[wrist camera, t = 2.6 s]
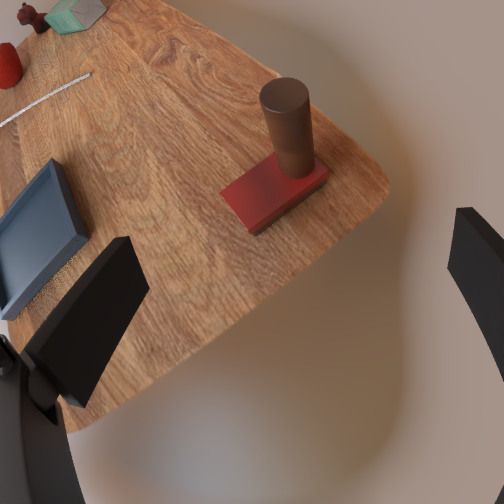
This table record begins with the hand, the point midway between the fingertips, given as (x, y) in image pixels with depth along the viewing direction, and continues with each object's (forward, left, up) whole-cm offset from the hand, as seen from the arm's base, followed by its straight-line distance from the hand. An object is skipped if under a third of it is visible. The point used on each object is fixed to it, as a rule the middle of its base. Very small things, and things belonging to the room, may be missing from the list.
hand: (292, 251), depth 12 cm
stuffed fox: (+71, +59, -15) cm, 94 cm away
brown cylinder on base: (+9, +2, -15) cm, 17 cm away
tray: (+7, +34, -15) cm, 38 cm away
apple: (+49, +59, -15) cm, 78 cm away
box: (+60, +42, -15) cm, 75 cm away
